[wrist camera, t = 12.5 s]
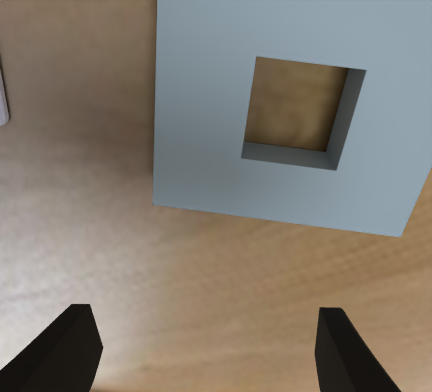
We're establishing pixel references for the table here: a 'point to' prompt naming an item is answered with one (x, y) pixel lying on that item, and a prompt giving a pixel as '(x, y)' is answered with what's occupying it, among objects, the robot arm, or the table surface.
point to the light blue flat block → (286, 156)
